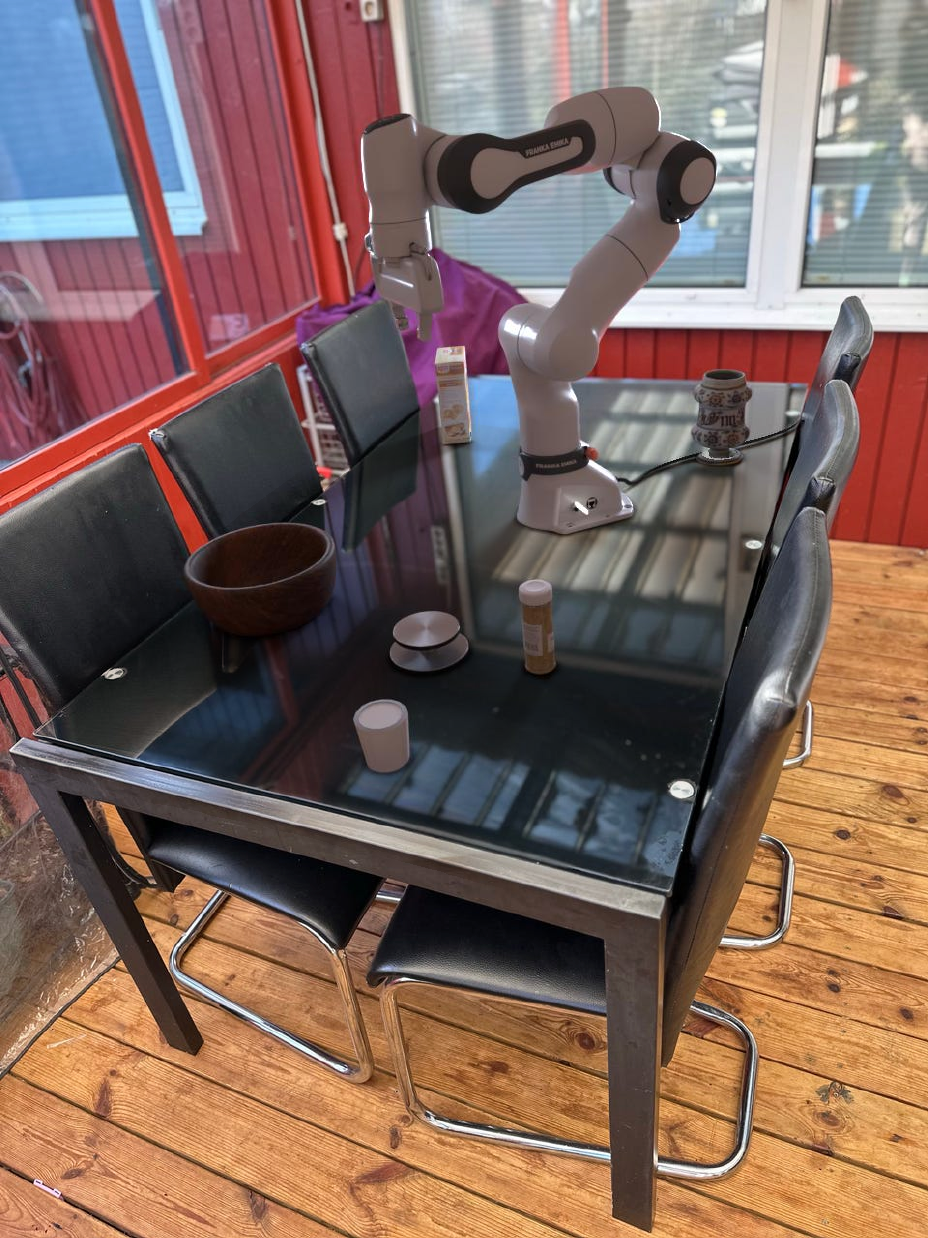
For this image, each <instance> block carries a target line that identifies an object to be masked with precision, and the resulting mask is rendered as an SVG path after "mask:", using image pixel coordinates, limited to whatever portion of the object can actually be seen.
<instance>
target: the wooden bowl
mask: <svg viewBox="0 0 928 1238" xmlns="http://www.w3.org/2000/svg"><path fill="white" fill-rule="evenodd" d="M336 551H337V550H336V544H335V541H334V539H333V537H332V536H331V534H329V533H328V532H327V531H326V530H324V529H321V528H319V527H317V526H313V525H310V524H307V523H306V524H305V523H298V522H273V523H264V524H257V525H251V526H248V527H244V528H240V529H236V530H233V531H231V532H228V533H224V534H222V535H220V536H218V537H216V538H215V537H214V538H213V539H211V540H209V541H208V542H206V543H204V544H203V545H201V546H200V547H198V548H197V549H196V550H195V551H194V552H192V554H191V555H189V557H188V558H187V560H186V561H185V563H184V565H183V578H184V581H185V584H186V586H187V588H188V590H189V593H190V595H191V597H192V598H193V600H194V602H195V604H196V605H197V607H198V609H199V610H200V612H201V613H202V614H203V616H204V617H205V618H206V619H207V621H209V622H210V623H211V624H212V625H214V626H215V627H216V628H218V629H219V630H221V631H223V632H226V633H229V634H231V635H236V636H243V637H261V636H262V637H264V636H270V635H275V634H281V633H284V632H287V631H291V630H293V629H296V628H298V627H300V626H302V625H305V624H306V623H308V622H310V621H312V620H313V619H315V618H316V617H317V616H318V615H319V614H320V613H322V611H323V610H324V609H325V608H326V607H327V605H328V604H329V602H330V600H331V598H332V596H333V592H334V589H335V586H336V585H335V584H336V579H337V552H336Z"/></svg>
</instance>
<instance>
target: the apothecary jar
mask: <svg viewBox="0 0 928 1238" xmlns="http://www.w3.org/2000/svg"><path fill="white" fill-rule="evenodd" d="M753 394H754V393H753V389H752V386H751V385H750V383H748V382H747V379H746V374H745V373H744V372H743V371H740V370H737V369H725V368H721V369H711V370H708V371H706V372H704V373H703V375H702V380H701V382H700V383H698V384H697V385H696V386H695V388H694V390H693V398H694V400H695V402H696V403H698V411H697V421H696V422H695V423H694V424H693V425H692V427H691V429H690V436H691V438H692V440H693V441H694V442H695V443H697V444H698V445H700V446H701V447H704V448H710V449H709V450H708V452H709V456H710V457H711V458H712V457H713V458H721V459H722V458H729V457H733V456H734V455H735V454H736V451H737V452H738V455H737V456H736V457H734V458H731V459H724V460H714V459H709V458H706V457H704V456H702V453H700V454H698V455H697V456H696V457H694V458H695V460H696V461H697V462H698V463H700V464H703V465H709V466H729V465H733V464H736V463H739V462H741V461H742V460H743V458H744V455H743V453H742V452H741V451H740V450H738V449H736V448H737V447H736V446H738V445H741V444H742V443H744V442H745V441H746V440H749V437H750V435H751V429H750V426H749V425H748V423H747V422H746V407H747V403H748V402H749V401H750V400H751V399H752V397H753ZM732 447H735V448H733V449H734V450H736V451H734V450H732V449H729V448H732ZM703 450H704V449H702V450H700V451H703Z"/></svg>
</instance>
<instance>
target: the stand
mask: <svg viewBox="0 0 928 1238" xmlns="http://www.w3.org/2000/svg"><path fill="white" fill-rule="evenodd" d="M460 631H461V626H460V621H459V620H458V619H457V618H456V617H455V616H453V615H452V614H450V613H447V612H445V611H444V612H443V611H435V610H433V611H432V610H429V611H420V612H416V613H413V614H410V615H408V616H405V617H403V618H402V619H401V620H399V621H398V622H397V623H396V624H395V626H394V628H393V631H392V633H393V634H392V635H393V639H394V642H393V643H392V645H391V647H390V649H389V658H390V662H391V664H392V665H393V666H394V667H395V668H396V670H398V671H401V672H403V673H406V674H409V675H415V676H416V675H417V676H432V675H437V674H441V673H444V672H447V671H450V670H452V669H454V668H456V667H458V666H459V665H461V664H462V663H463V662H464V661H465V659H466V658H467V656H468V654H469V649H470V648H469V647H470V646H469V642H468V639H467V638H466V637H465V636H464V635H463V634H462V633H461V632H460Z"/></svg>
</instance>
